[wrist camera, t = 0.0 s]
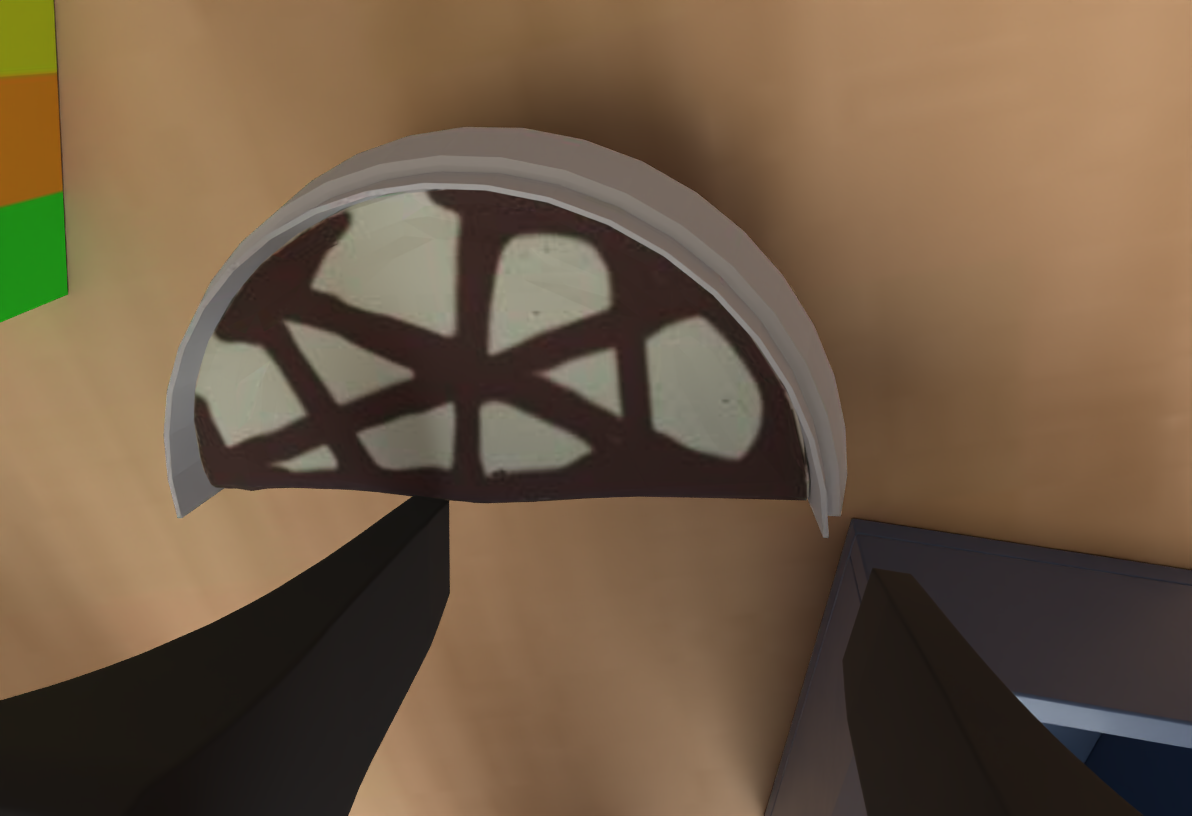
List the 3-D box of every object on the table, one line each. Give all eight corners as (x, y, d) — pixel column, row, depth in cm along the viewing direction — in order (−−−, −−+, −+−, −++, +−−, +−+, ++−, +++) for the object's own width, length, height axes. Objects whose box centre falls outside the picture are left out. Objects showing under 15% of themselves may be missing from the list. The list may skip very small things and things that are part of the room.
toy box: (1200, 570, 22) (1358, 752, 17) (1028, 869, 29) (1100, 1069, 24) (851, 517, 23) (891, 672, 18) (763, 818, 30) (771, 999, 24)
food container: (817, 87, 18) (902, 106, 9) (806, 333, 21) (865, 540, 12) (339, 120, 20) (26, 162, 11) (381, 339, 23) (150, 517, 14)
